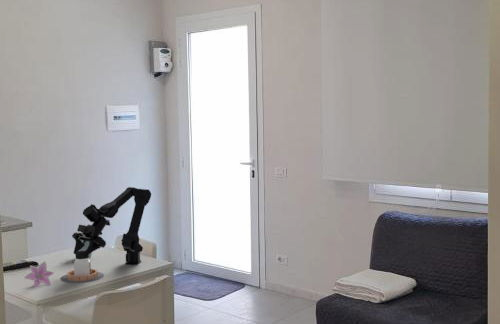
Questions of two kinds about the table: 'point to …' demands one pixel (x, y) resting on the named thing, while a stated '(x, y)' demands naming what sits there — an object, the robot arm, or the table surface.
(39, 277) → the lily
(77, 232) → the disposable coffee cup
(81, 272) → the medicine bottle
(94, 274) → the terracotta bowl
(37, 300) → the table surface
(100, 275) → the rubber mat
